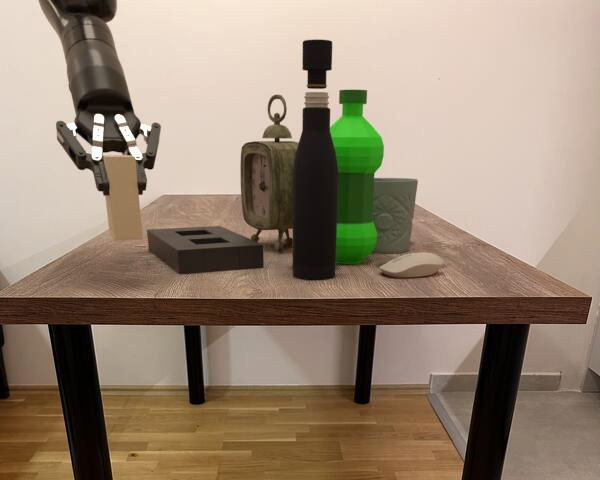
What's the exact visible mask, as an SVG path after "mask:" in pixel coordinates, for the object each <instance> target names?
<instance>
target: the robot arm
mask: <svg viewBox="0 0 600 480" xmlns="http://www.w3.org/2000/svg"><path fill="white" fill-rule="evenodd" d="M38 3H39V6H40V9H41V11H42V13H43V15H44V16H45V18H46V20H47V21H48V23H49V25H50V26H51V27H52V29H53V30H54V32H55V33H56V35H57V37H58V39H59V41H60V43H61V46H62V51H63V55H64V60H65V64H66V77H67V82H68V85H67V86H68V89H69V92H70V95H71V99H72V104H73V108H74V113H75V118H74V121H73V122H70V123H66V122H65V121H63V120H57V121H56V123H55V130H56V140H57V141H58V143H59V145H60V146H61V147H62V149H63V150H64V151H65V153H66V155H67V156H68V157H69V159H70V160H71V161H72V162H73V164H74V166H75V167H76V169H78V170H79V171H85V170H89V171H91V172H92V174H93V179H94V183H95V189H96V190H97V191H98V192H102V195H103V197H105V196H109V189H110V186H109V180H108V177H107V173H106V168H105V164H104V161H102V155H104V154H105V153H111V152H114V153H118V154H119V153H120V155H130V156H135V160H136V171H137V185H138V193H139V196H141V195H142V196H143V195H144V191H146V190H147V186H148V185H147V184H148V178H147V173H146V170H149V171H151V170H153V169H154V168H155V163H156V160H157V159H156V158H157V155H158V149H159V145H160V139H161V130H162V125H161V124H160V123H158V122H153V123H151V125H149V124H144V123H142V122H141V120H140V118H138V116H137V115H136V113H135V110H134V106H133V102H132V99H131V95H130V91H129V86H128V83H127V79H126V75H125V71H124V68H123V66H122V63H121V61H120V59H119V56H118V52H117V47H116V44H115V43H116V42H115V40H114V39H115V38H114V36H113V33H112V31H111V30H112V29H111V27H109V25H108V23H109V22H110V23H111V21H113V20H114V19H115V17H116V15H117V10H118V0H38ZM77 135H78V136H79V137H81V138H82V139H83V140H84V141H85V142H87V143H88V145H90V146H91V153H88V152H87V151H86V150H85V148H84V147H83V145H82V144H81V143H80V141H79V140H78V139H77ZM140 135H141V136H142V137H143V141H144V142H145V144H146V149H145V152H143V153H142V152H141V151H140V149H139V147H138V144H137V139H138V137H139V136H140Z"/></svg>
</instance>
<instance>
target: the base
mask: <svg viewBox="0 0 600 480" xmlns="http://www.w3.org/2000/svg"><path fill="white" fill-rule="evenodd" d="M146 235H147V247H148V251H149V252H151V253H152V254H154V255H155V256H156V258H159V259H160V261H162V262H163V263H165V264H166V265H168V266H169V267H170V268H171V269H172V270H174V271H175V272H176V273H177V274H179V275H183V274H196V273H197V274H198V273H211V272H221V271H234V270H248V269H259V268H265V266H264V265H265V264H264V262H265V261H264V244H262V243H260V242H259V241H258V242H256V241H253V240H251V238H249V237H246V236H244V235H242V234H239V233H237V232H235V231H232V230H230V229H228V228H226V227H223V226H222V225H212V226H211V225H209V226H191V227H190V226H189V227H172V228H171V227H170V228H169V227H168V228H150V229H146Z"/></svg>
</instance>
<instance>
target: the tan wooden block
mask: <svg viewBox="0 0 600 480" xmlns="http://www.w3.org/2000/svg"><path fill="white" fill-rule="evenodd" d="M102 161H104V164H105V168H106V173H107V177H108V180H109V186H110V189H109V196H104V197H105V204H106V214H107V223H108V232H109V236H110V237H111V238H112V239H113V240H114V241H132V240H143V239H144V238H143V227H142V217H141V215H142V214H141V205H140V195H139V193H138V185H137V171H136V160H135V156H130V155H122V154H110V155H109V154H103V155H102Z"/></svg>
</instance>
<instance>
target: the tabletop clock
mask: <svg viewBox="0 0 600 480" xmlns="http://www.w3.org/2000/svg"><path fill="white" fill-rule="evenodd" d="M275 100H280V102H281V103H282V105H283V112H282V115H281V114H280V113H279V112H275V113H274V114H273V115H272V114H271V107H272V104H273V102H274V101H275ZM287 110H288V109H287V102H286V100H285V98H284V97H283V95H281V94H274V95H271V97H270V98H269V100H268V103H267V115H268V119H269V120H270V121H271V122H272V123H273V124H271V125H269V126H267V127H266V128H265V129H264V131H263V134H262V139H274V140H272V141H271V140H269V141H268V140H266V141H265V140H264V141H263V140H260V141H259V140H256V141H255V140H254V141H248V142H246V143H244V144H243V145H242V146H241V150H240V164H239V165H240V166H239V167H240V195H241V196H240V197H241V208H242V215H243V220H244V221H245V223H246V224H247V225H248V226H250V227H251V228H253V229H256V230H257V231H256V233H255V234H254V233H253V234H252V235H251V236H250V239H251V240H253V241H256V242H258V243H259V242H260V237H259V236H260V234H261V233H262V231H277V232H278V235H277V242H276V243H275V244H274V246H273V249H274V250H275V252H277V253H281V252H282V251H283V250H284V245H283V243H282V241H283V237H284V234H285V237H286V238H285V239H284V244H285V246H287V247H293V237H290V231H289V230H293V166H294V160H295V155H296V150H297V147H298V144H299V141H294V140H281V139H293V136H292V133H291V130H290V129H289V128H288V127H287V126H286V125H283V124H281V122H283V121H284V120H285V119H286V115H287Z"/></svg>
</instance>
